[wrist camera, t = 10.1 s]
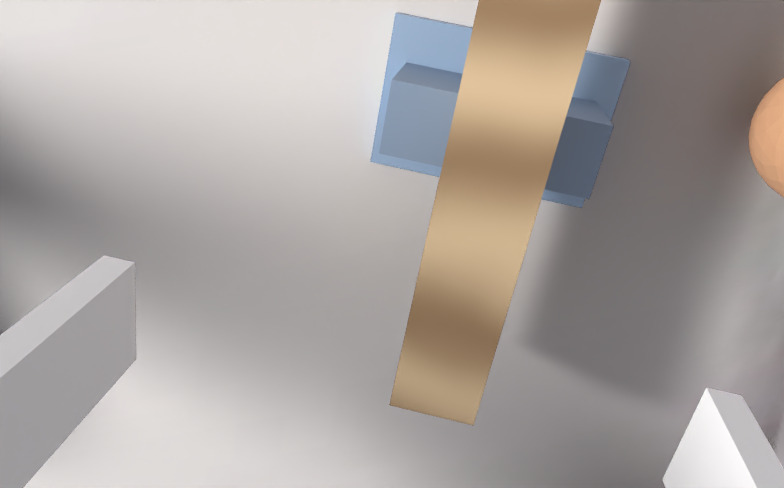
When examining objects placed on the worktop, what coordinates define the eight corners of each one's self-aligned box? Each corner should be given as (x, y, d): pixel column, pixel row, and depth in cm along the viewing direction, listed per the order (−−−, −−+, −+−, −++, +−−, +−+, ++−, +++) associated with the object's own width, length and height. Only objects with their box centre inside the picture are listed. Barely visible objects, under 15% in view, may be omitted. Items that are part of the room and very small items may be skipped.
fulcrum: (373, 157, 36) (351, 192, 31) (397, 12, 33) (378, 23, 27) (580, 202, 35) (595, 247, 30) (627, 59, 32) (654, 79, 27)
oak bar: (476, 363, 34) (473, 425, 29) (403, 345, 34) (389, 405, 29) (625, -157, 23) (656, -185, 19) (519, -176, 24) (524, -208, 19)
